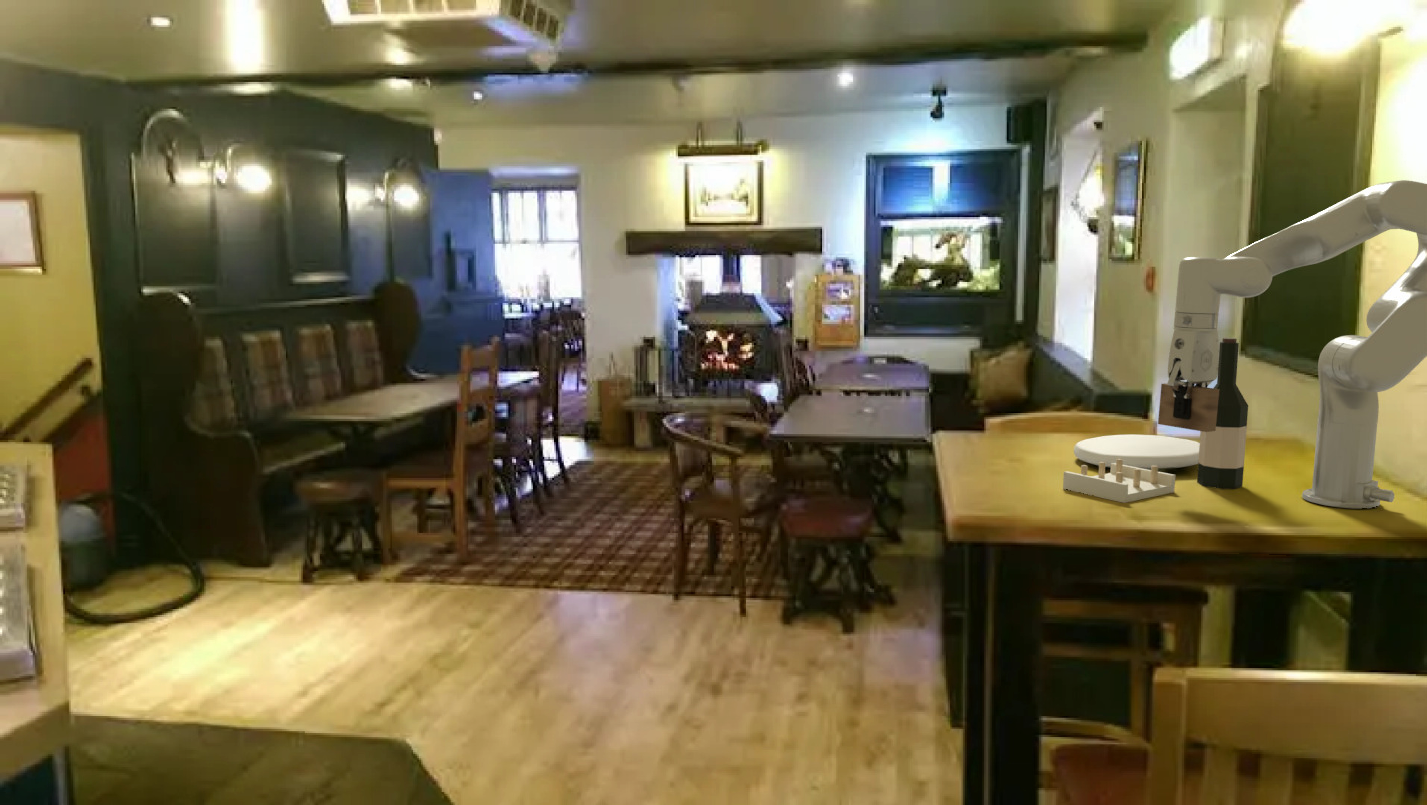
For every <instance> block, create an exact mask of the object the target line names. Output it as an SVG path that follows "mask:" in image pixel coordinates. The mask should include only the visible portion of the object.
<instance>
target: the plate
mask: <svg viewBox="0 0 1427 805" xmlns="http://www.w3.org/2000/svg"><path fill="white" fill-rule="evenodd" d="M1199 446H1200V442H1198V441H1196V440H1191V439H1186V438H1177V437H1173V436H1164V435H1154V434H1153V435H1152V434H1115V435H1114V434H1113V435H1103V436H1097V437H1091V438H1086V439H1083V440H1080V441H1078V442H1076V444H1075V445H1074V448H1073V454H1074V456H1075V458H1077V459H1078V460H1080V461H1082V462H1085V463H1088V464H1091V465H1094V466H1095V465H1096V466H1098V467H1099V462H1105V468H1111V463H1116V459H1122V460H1123V463H1122V465H1127V466H1132V467H1137V468H1142V469H1147V470H1151V466H1158V470H1163V469H1164V470H1165V469H1177V468H1185V467H1191V466H1195V465H1198V461H1199Z"/></svg>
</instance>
